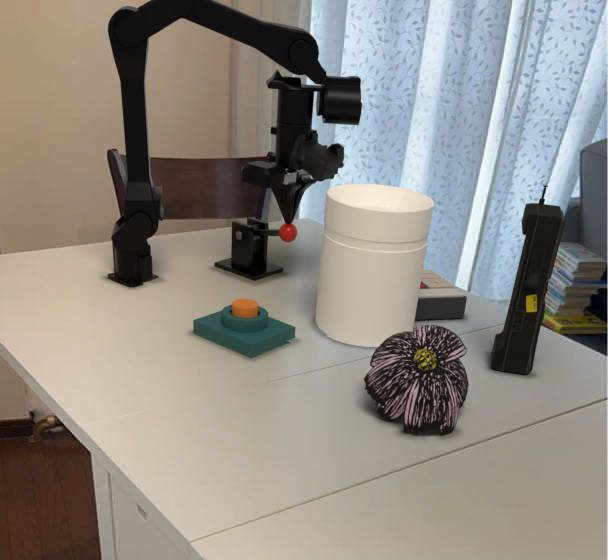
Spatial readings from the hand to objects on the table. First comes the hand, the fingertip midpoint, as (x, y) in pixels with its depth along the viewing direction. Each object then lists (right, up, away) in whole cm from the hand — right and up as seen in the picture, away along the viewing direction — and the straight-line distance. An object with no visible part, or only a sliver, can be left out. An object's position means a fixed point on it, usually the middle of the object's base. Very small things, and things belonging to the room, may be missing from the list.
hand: (288, 222), depth 137 cm
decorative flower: (+18, -37, -29) cm, 51 cm away
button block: (-7, -23, -14) cm, 28 cm away
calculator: (+23, -13, +4) cm, 26 cm away
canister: (+12, -20, -7) cm, 24 cm away
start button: (-6, -20, -16) cm, 27 cm away
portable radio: (+34, -28, -15) cm, 47 cm away
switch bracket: (-8, -5, +10) cm, 14 cm away
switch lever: (-3, -2, +4) cm, 6 cm away
